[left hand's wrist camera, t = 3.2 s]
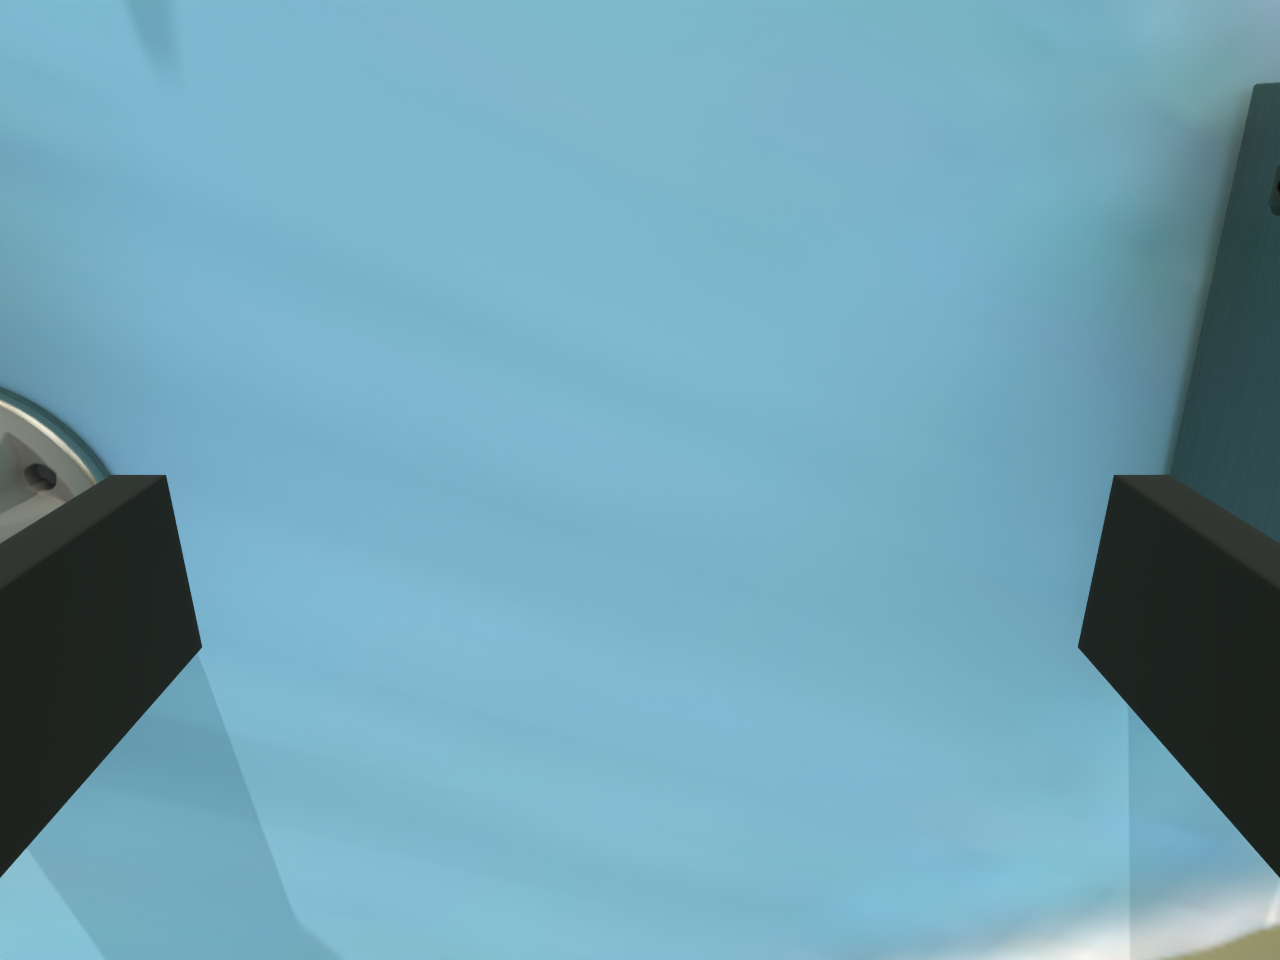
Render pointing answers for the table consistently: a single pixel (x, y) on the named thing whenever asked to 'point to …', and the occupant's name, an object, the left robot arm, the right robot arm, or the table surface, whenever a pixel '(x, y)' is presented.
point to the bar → (1241, 344)
